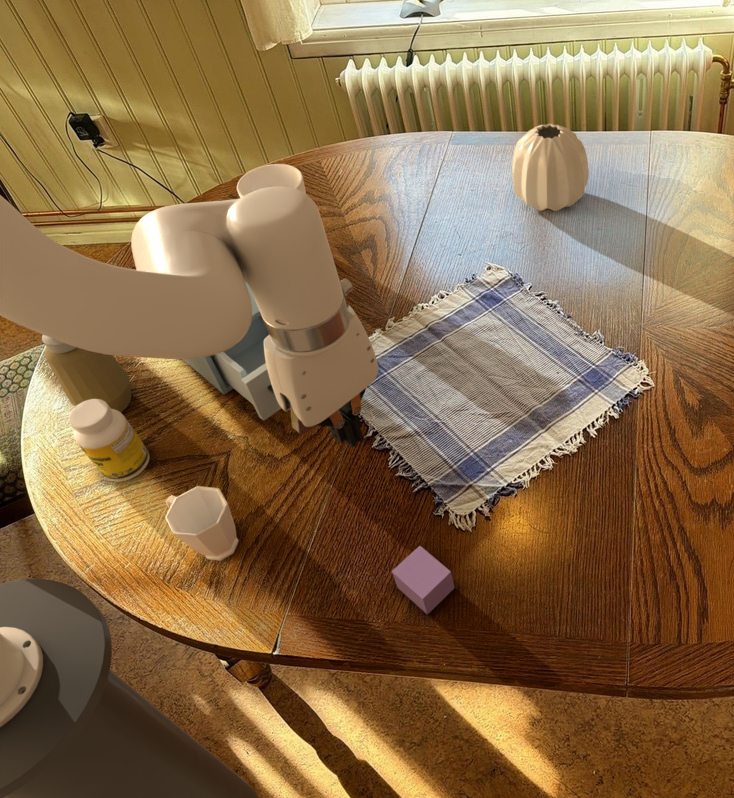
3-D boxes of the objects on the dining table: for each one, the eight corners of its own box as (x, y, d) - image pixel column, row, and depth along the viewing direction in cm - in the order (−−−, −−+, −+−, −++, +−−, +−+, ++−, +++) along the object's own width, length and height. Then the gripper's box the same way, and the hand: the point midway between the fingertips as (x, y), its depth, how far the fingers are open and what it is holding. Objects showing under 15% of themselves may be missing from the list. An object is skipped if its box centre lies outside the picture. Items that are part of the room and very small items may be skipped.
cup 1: (220, 580, 89) (195, 546, 83) (162, 544, 92) (133, 509, 86) (261, 535, 93) (240, 500, 87) (204, 502, 96) (180, 466, 90)
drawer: (350, 391, 107) (338, 353, 101) (285, 439, 102) (268, 402, 96) (273, 333, 115) (258, 295, 109) (210, 375, 110) (190, 337, 104)
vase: (592, 181, 142) (595, 114, 131) (578, 224, 133) (580, 156, 123) (522, 173, 144) (519, 107, 134) (504, 215, 135) (499, 148, 125)
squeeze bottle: (150, 402, 108) (90, 309, 94) (96, 434, 104) (27, 343, 91) (123, 374, 112) (63, 282, 98) (71, 405, 108) (0, 313, 94)
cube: (427, 614, 85) (422, 599, 82) (397, 587, 88) (391, 571, 85) (454, 587, 87) (451, 571, 84) (424, 562, 90) (419, 545, 87)
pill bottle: (92, 474, 100) (50, 422, 91) (127, 440, 103) (89, 387, 95) (127, 490, 98) (86, 438, 90) (161, 455, 101) (125, 402, 93)
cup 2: (294, 275, 126) (271, 207, 116) (249, 256, 129) (222, 189, 119) (335, 241, 132) (315, 173, 121) (290, 224, 135) (268, 157, 125)
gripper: (342, 260, 75) (376, 383, 89) (215, 343, 67) (274, 462, 81) (393, 291, 71) (421, 413, 85) (266, 382, 64) (318, 499, 78)
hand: (349, 437), depth 83 cm, fingers closed
